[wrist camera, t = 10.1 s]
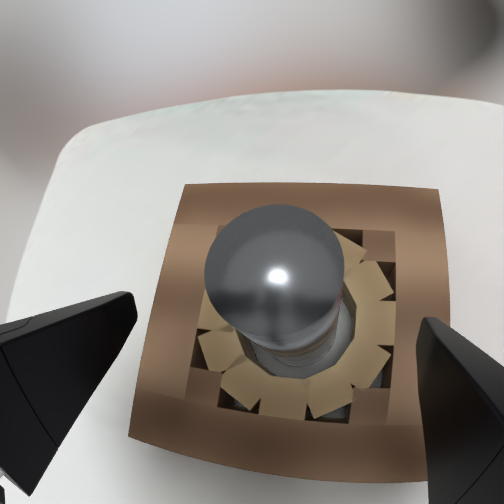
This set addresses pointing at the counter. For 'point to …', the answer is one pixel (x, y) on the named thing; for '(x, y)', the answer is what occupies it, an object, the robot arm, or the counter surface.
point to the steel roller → (278, 281)
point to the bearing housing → (314, 387)
